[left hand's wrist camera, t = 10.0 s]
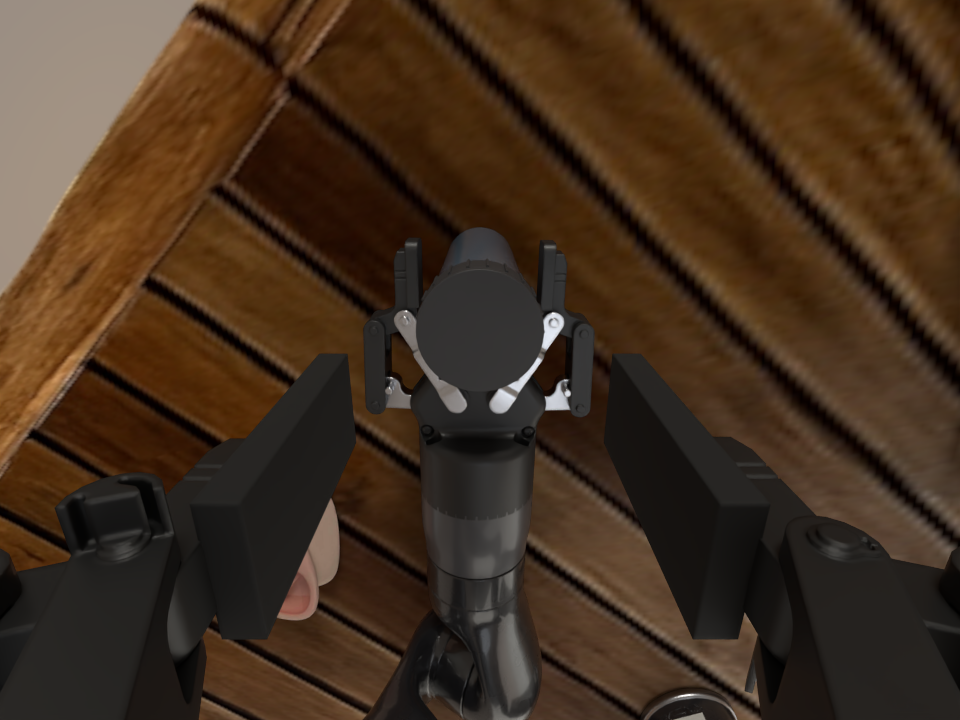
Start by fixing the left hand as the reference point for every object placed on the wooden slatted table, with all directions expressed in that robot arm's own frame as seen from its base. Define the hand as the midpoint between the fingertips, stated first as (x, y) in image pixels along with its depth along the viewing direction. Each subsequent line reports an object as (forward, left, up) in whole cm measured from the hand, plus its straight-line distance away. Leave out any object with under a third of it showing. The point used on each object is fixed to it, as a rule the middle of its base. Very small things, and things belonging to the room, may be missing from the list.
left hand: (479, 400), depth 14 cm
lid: (0, 0, -6) cm, 6 cm away
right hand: (+1, -2, -16) cm, 17 cm away
